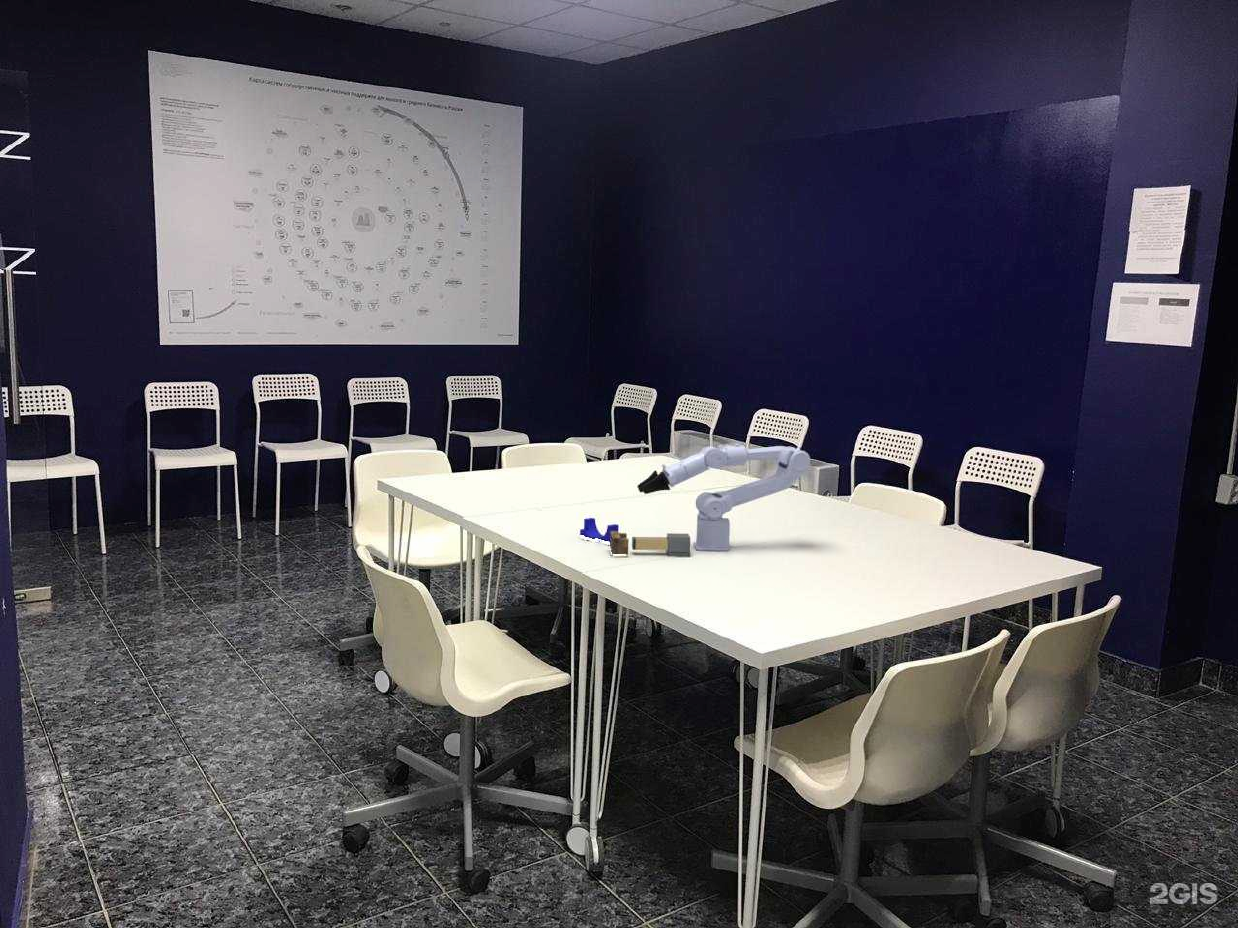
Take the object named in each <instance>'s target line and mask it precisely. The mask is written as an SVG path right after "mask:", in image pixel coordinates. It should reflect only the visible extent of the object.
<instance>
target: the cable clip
mask: <svg viewBox="0 0 1238 928" xmlns="http://www.w3.org/2000/svg"><path fill="white" fill-rule="evenodd" d="M619 527H620V526H619V524H616V523H615V524H607V527H606V531H605V533H604V535H603V534H601V532H600V531H599V530H598V527H597V525H596V518H594V517H589V518H584V519H583V528H580V529H579V536H580V535H584V536H585V537H589V538H592V539H595V538H598V539H601V540H604V541H609V542H610V533H611V531H619Z"/></svg>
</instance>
